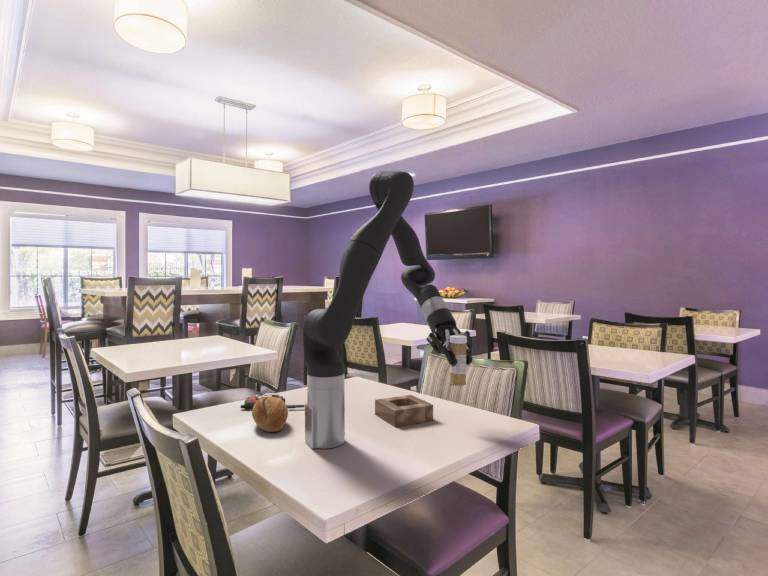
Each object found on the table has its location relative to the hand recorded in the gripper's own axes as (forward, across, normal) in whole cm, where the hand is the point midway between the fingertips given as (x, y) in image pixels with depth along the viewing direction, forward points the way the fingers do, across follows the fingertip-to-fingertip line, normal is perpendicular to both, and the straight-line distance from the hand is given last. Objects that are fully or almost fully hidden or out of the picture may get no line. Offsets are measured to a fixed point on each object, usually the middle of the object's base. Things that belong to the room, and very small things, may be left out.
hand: (462, 363), depth 120 cm
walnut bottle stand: (+1, -9, +25) cm, 26 cm away
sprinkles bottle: (+3, 0, +6) cm, 7 cm away
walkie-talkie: (-18, -40, +45) cm, 63 cm away
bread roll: (-5, -46, +32) cm, 56 cm away
